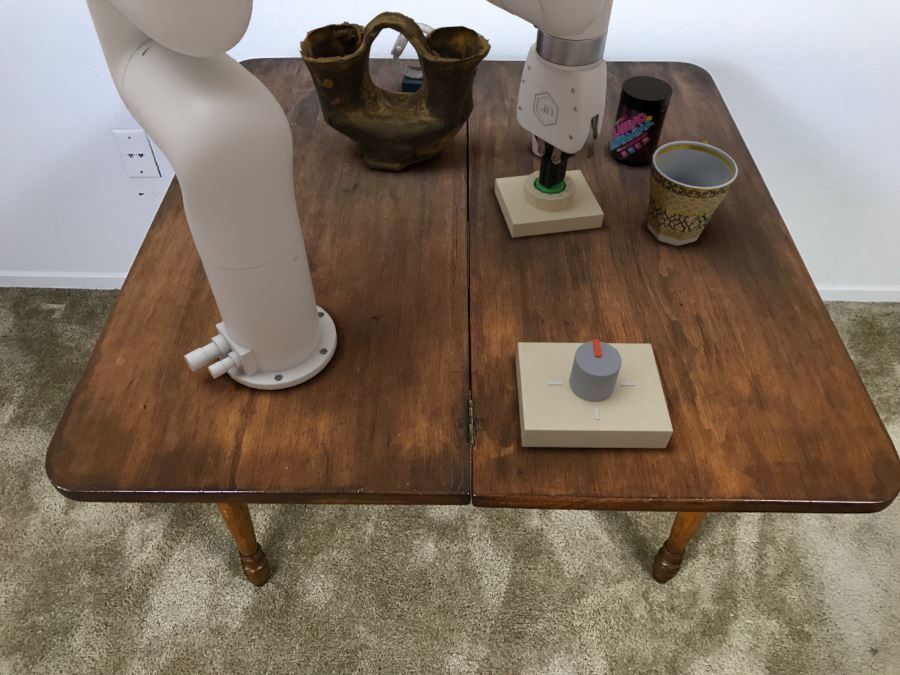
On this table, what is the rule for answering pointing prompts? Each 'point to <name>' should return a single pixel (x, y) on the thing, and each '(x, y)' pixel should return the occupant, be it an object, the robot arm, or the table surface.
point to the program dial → (595, 370)
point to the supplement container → (639, 119)
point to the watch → (411, 74)
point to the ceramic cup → (687, 189)
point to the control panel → (590, 422)
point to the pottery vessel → (387, 112)
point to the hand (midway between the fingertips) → (551, 181)
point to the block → (547, 205)
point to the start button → (552, 190)
